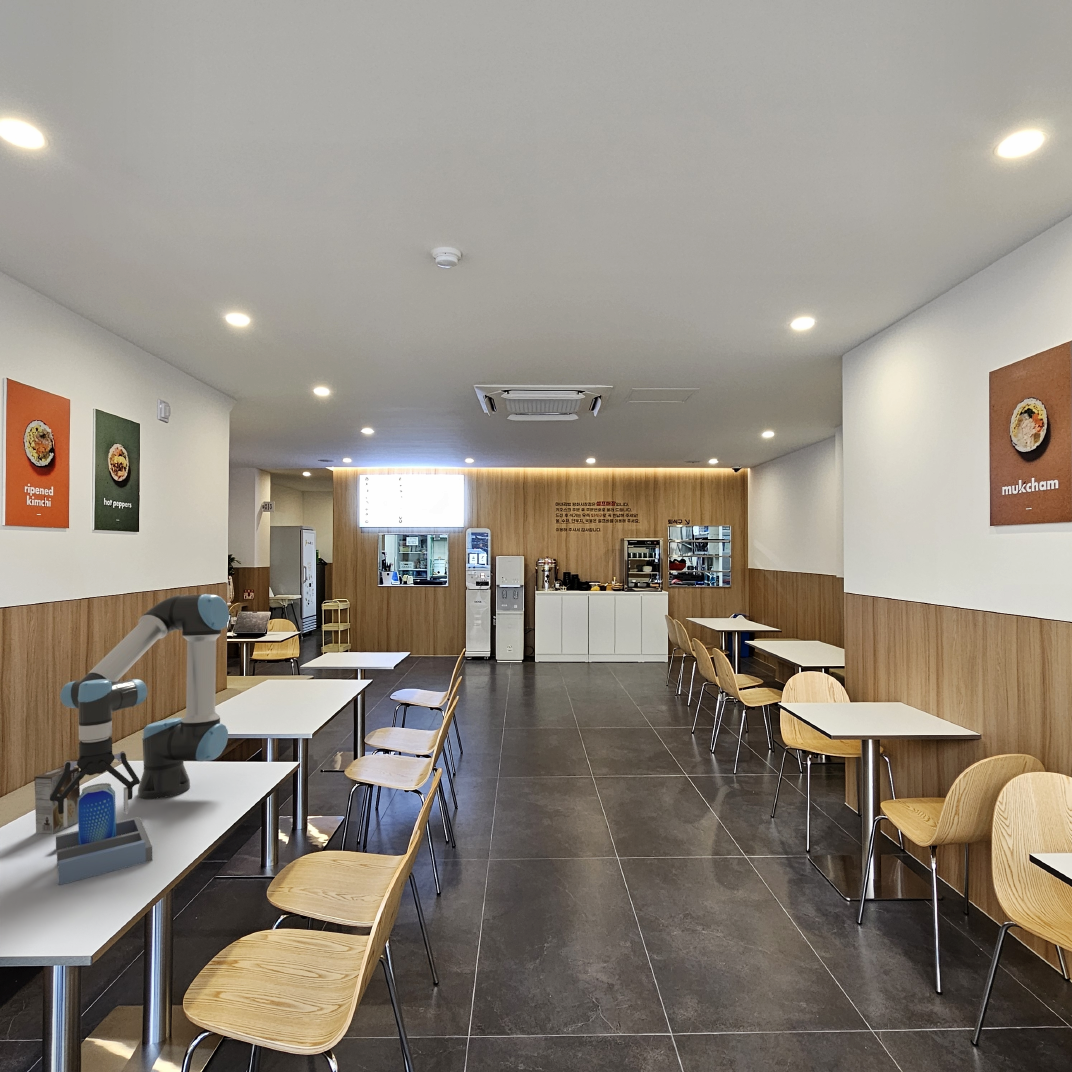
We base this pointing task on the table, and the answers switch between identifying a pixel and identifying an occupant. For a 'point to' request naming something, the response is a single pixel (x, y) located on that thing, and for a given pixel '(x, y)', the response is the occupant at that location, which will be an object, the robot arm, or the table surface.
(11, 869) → the table surface
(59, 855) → the divided slot tray
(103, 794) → the beer can
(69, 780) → the coffee box
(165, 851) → the table surface
